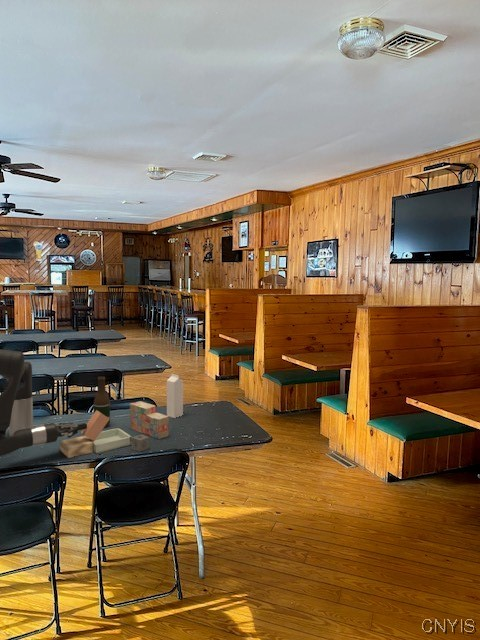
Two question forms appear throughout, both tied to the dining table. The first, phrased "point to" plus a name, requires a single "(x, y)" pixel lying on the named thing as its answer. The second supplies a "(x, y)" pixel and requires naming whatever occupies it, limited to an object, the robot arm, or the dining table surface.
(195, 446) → the dining table surface
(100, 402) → the beer bottle
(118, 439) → the tray
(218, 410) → the dining table surface
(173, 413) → the milk
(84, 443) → the cream wooden slab
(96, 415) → the terracotta block
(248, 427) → the dining table surface
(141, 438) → the dice cube
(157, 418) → the stack of blocks
